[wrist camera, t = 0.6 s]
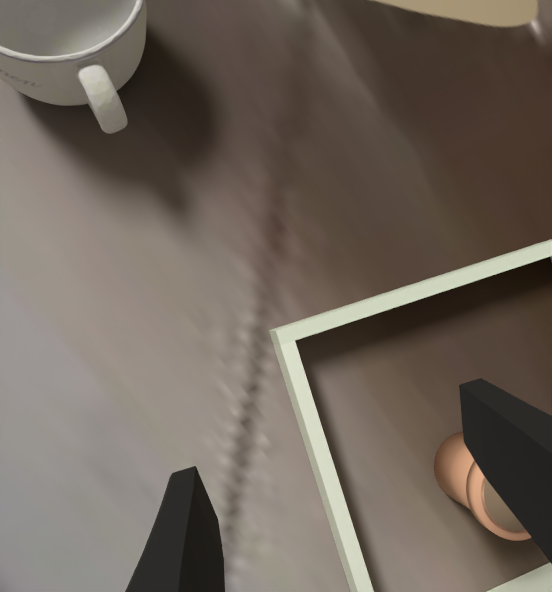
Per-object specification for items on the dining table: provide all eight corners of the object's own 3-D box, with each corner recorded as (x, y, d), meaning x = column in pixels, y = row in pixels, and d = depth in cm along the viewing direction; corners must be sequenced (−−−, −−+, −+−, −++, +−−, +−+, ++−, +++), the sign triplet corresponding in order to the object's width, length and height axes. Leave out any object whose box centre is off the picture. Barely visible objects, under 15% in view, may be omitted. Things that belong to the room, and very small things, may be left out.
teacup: (-28, -16, 33) (-96, -123, 25) (134, -38, 35) (117, -144, 27) (24, 184, 33) (-29, 137, 25) (185, 150, 35) (182, 98, 27)
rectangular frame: (650, 530, 39) (688, 547, 36) (372, 659, 34) (388, 690, 32) (555, 237, 39) (585, 230, 36) (268, 330, 35) (275, 330, 32)
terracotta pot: (511, 489, 37) (572, 520, 31) (443, 518, 36) (492, 555, 30) (487, 415, 37) (543, 431, 31) (418, 441, 36) (463, 463, 30)
